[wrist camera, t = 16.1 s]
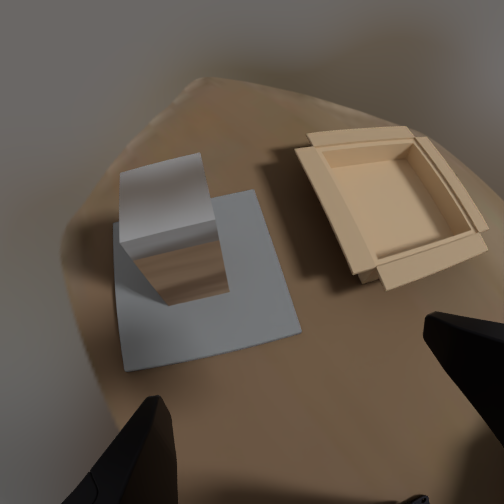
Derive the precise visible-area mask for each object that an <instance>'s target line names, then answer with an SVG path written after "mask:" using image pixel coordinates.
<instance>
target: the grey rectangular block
mask: <svg viewBox="0 0 504 504" xmlns="http://www.w3.org/2000/svg"><path fill="white" fill-rule="evenodd" d="M119 239H120V244H121V246H122V247H123V248H124V250H125V251H126V252H127V254H128V255H129V256H130V258H131V259H132V260H133V262H134V263H135V264H136V266H137V267H138V268H139V270H140V271H141V272H142V273H143V275H144V276H145V277H146V279H147V280H148V281H149V282H150V284H151V285H152V286H153V287H154V289H155V290H156V291H157V292H158V294H159V295H160V296H161V297H162V299H163V300H164V301H165V302H166V303H167V305H168V306H171V305H176V304H180V303H185V302H189V301H194V300H198V299H202V298H207V297H211V296H215V295H219V294H224V293H228V292H230V290H229V286H228V281H227V276H226V271H225V266H224V261H223V256H222V251H221V246H220V241H219V236H218V231H217V225H216V220H215V216H214V212H213V207H212V203H211V199H210V194H209V190H208V186H207V181H206V177H205V172H204V168H203V163H202V159H201V154H200V153H196V154H192V155H187V156H183V157H179V158H175V159H171V160H167V161H163V162H159V163H155V164H151V165H147V166H144V167H140V168H136V169H133V170H129V171H126V172H123V173H120V192H119Z"/></svg>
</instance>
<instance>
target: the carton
mask: <svg viewBox="0 0 504 504" xmlns="http://www.w3.org/2000/svg"><path fill="white" fill-rule="evenodd" d="M306 137H307V139H308V140H309V142H310V144H311V145H312V147H304V148H297V149H294V152H295V154H296V155H297V157H298V159H299V161H300V163H301V165H302V167H303V169H304V171H305V173H306V175H307V177H308V179H309V181H310V183H311V185H312V187H313V189H314V191H315V193H316V195H317V197H318V199H319V201H320V203H321V205H322V208H323V210H324V212H325V214H326V216H327V218H328V220H329V222H330V225H331V227H332V229H333V231H334V233H335V236H336V238H337V240H338V242H339V245H340V247H341V249H342V251H343V254H344V256H345V258H346V261H347V263H348V265H349V268H350V270H351V273H352V275H355V274H358V276H359V279H360V281H361V283H362V284H365V283H368V282H371V281H374V280H377V279H380V281H381V283H382V286H383V288H384V291H385V292H386V291H389V290H392V289H395V288H398V287H400V286H403V285H406V284H408V283H411V282H414V281H416V280H419V279H422V278H424V277H427V276H429V275H432V274H434V273H437V272H439V271H442V270H444V269H447V268H449V267H452V266H454V265H457V264H459V263H461V262H464V261H466V260H468V259H471V258H473V257H475V256H478V255H480V254H482V253H484V252H487V251H488V248H487V246H486V244H485V242H484V240H483V239H482V237H481V235H480V233H482V232H484V231H487V230H488V229H489V227H488V225H487V224H486V222H485V220H484V219H483V217H482V215H481V213H480V212H479V210H478V208H477V207H476V205H475V204H474V202H473V200H472V199H471V197H470V196H469V194H468V193H467V191H466V190H465V188H464V187H463V185H462V184H461V182H460V181H459V179H458V178H457V176H456V175H455V173H454V172H453V171H452V169H451V168H450V166H449V165H448V164H447V162H446V161H445V160H444V158H443V157H442V156H441V154H440V153H439V152H438V150H437V149H436V148H435V147H434V145H433V144H432V143H431V142H430V140H429V139H428V138H427V137H414V135H413V134H412V133H411V132H410V131H409V129H408V128H407V127H406V126H397V127H374V128H359V129H346V130H334V131H324V132H315V133H307V134H306Z"/></svg>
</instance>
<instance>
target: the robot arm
mask: <svg viewBox="0 0 504 504" xmlns="http://www.w3.org/2000/svg"><path fill="white" fill-rule="evenodd" d="M423 338H424V341H425V342H426V344H427V345H428V347H429V348H430V349H431V351H432V352H433V354H434V355H435V357H436V358H437V360H438V361H439V363H440V364H441V366H442V367H443V369H444V370H445V371H446V373H447V374H448V375H449V376H450V378H451V379H452V380H453V381H454V383H455V384H456V385H457V386H458V388H459V389H460V390H461V391H462V393H463V394H464V395H465V396H466V398H467V399H468V400H469V401H470V403H471V404H472V405H473V407H474V408H475V409H476V410H477V412H478V413H479V414H480V416H481V417H482V418H483V420H484V421H485V422H486V424H487V425H488V426H489V428H490V429H491V430H492V432H493V433H494V434H495V436H496V437H497V439H498V440H499V441H500V443H501V444H502V446H503V447H504V324H503V323H497V322H492V321H486V320H480V319H475V318H469V317H464V316H458V315H453V314H448V313H442V312H437V311H435V312H432V313H430V314H428V315H427V316H426V317H425V322H424V330H423ZM423 498H424V500H423V501H422V502H421V500H422V499H423ZM61 504H178V490H177V459H176V451H175V443H174V436H173V427H172V419H171V415H170V412H169V411H168V409H167V407H166V405H165V403H164V401H163V399H162V398H161V396H159V395H156V396H149V397H147V398H146V399H145V400H144V401H143V403H142V404H141V405H140V406H139V408H138V409H137V410H136V412H135V413H134V414H133V416H132V417H131V418H130V419H129V421H128V422H127V423H126V425H125V426H124V427H123V429H122V430H121V431H120V432H119V434H118V435H117V436H116V438H115V439H114V440H113V441H112V443H111V444H110V445H109V447H108V448H107V449H106V450H105V452H104V453H103V454H102V456H101V457H100V458H99V459H98V461H97V462H96V463H95V465H94V466H93V467H92V469H91V470H90V472H88V473H87V475H86V476H85V477H84V479H83V480H82V481H81V482H80V484H79V485H78V486H77V487H76V488H75V489H74V491H73V492H72V493H71V494H70V495H69V496H68V497H67V498H66V499H65V500H64V501H63V502H62V503H61ZM405 504H430V503H429V498H428V496H426V495H421V496H419V497H417V498H416V499H414V500H412V501H410V502H407V503H405Z"/></svg>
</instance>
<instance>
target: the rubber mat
mask: <svg viewBox="0 0 504 504" xmlns="http://www.w3.org/2000/svg"><path fill="white" fill-rule="evenodd" d="M211 203H212V207H213V212H214V216H215V220H216V225H217V231H218V236H219V241H220V246H221V251H222V256H223V261H224V266H225V271H226V276H227V281H228V286H229V290H230V292H228V293H224V294H219V295H215V296H211V297H207V298H202V299H198V300H194V301H189V302H185V303H180V304H176V305H171V306H168V305H167V303H166V302H165V301H164V300H163V299H162V297H161V296H160V295H159V294H158V292H157V291H156V290H155V289H154V287H153V286H152V285H151V284H150V282H149V281H148V280H147V279H146V277H145V276H144V275H143V273H142V272H141V271H140V270H139V268H138V267H137V266H136V264H135V263H134V262H133V260H132V259H131V258H130V256H129V255H128V254H127V252H126V251H125V250H124V248H123V247H122V246H121V244H120V239H119V222H116V223H113V253H114V277H115V293H116V306H117V316H118V326H119V335H120V343H121V350H122V357H123V364H124V370H125V371H126V372H130V371H137V370H143V369H149V368H155V367H161V366H166V365H171V364H177V363H182V362H187V361H192V360H197V359H201V358H206V357H211V356H215V355H219V354H224V353H228V352H232V351H237V350H241V349H245V348H249V347H253V346H257V345H260V344H264V343H268V342H272V341H275V340H279V339H283V338H286V337H290V336H293V335H297V334H300V333H301V332H302V330H301V327H300V324H299V321H298V318H297V315H296V312H295V309H294V306H293V303H292V300H291V297H290V294H289V291H288V288H287V285H286V282H285V279H284V276H283V273H282V270H281V267H280V264H279V261H278V258H277V255H276V252H275V249H274V246H273V243H272V240H271V237H270V234H269V232H268V229H267V226H266V223H265V220H264V217H263V214H262V211H261V208H260V206H259V203H258V200H257V197H256V194H255V191H254V189H253V190H248V191H243V192H238V193H234V194H229V195H224V196H220V197H215V198H211Z"/></svg>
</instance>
